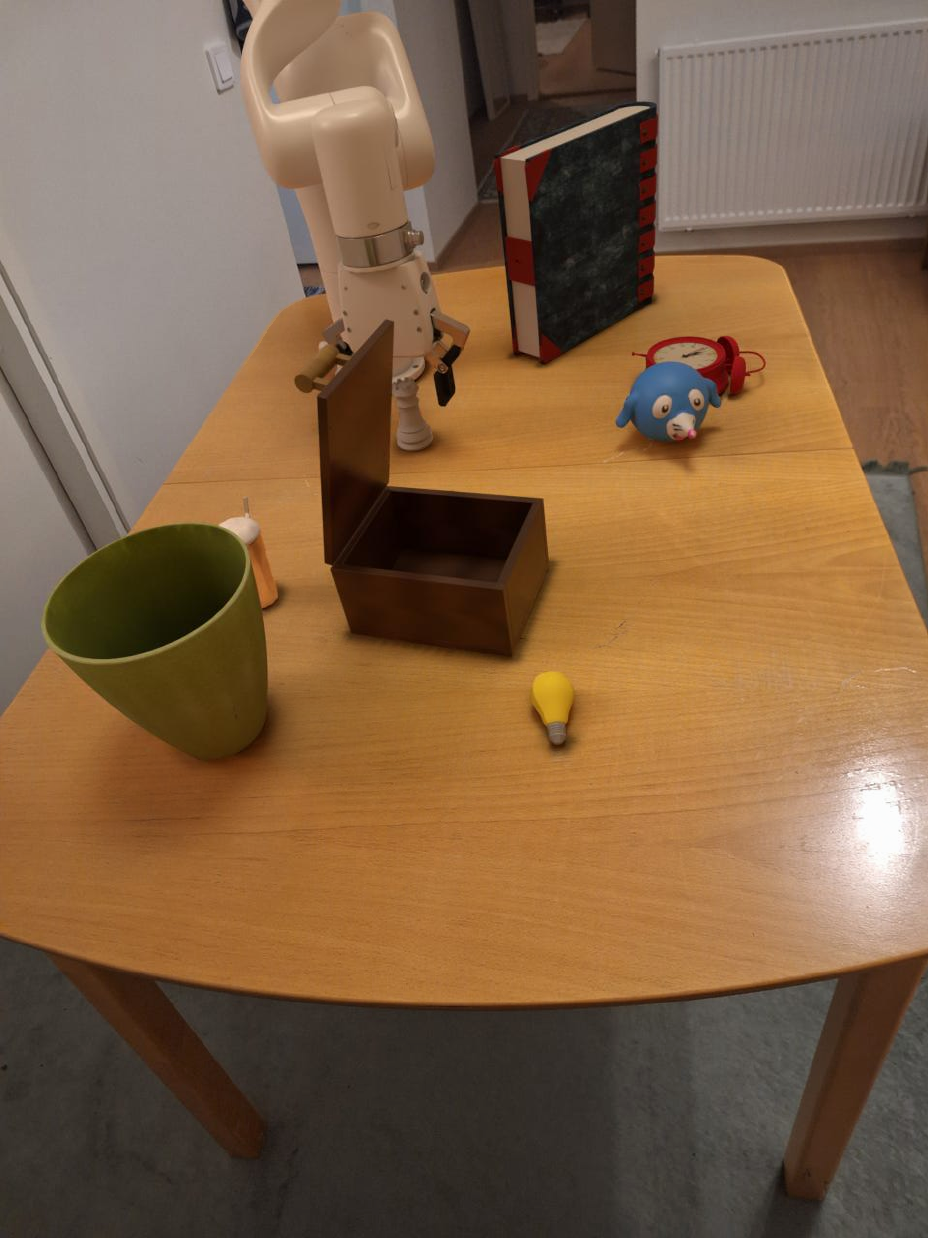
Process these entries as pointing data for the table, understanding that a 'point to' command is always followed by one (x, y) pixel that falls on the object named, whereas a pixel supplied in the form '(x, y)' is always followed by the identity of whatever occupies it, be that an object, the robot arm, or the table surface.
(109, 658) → the flower pot
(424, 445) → the rook chess piece
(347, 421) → the lid
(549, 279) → the book
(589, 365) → the table surface
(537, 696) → the light bulb
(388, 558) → the chest
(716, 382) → the alarm clock
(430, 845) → the table surface
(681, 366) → the blue dog toy
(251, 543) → the milkshake
